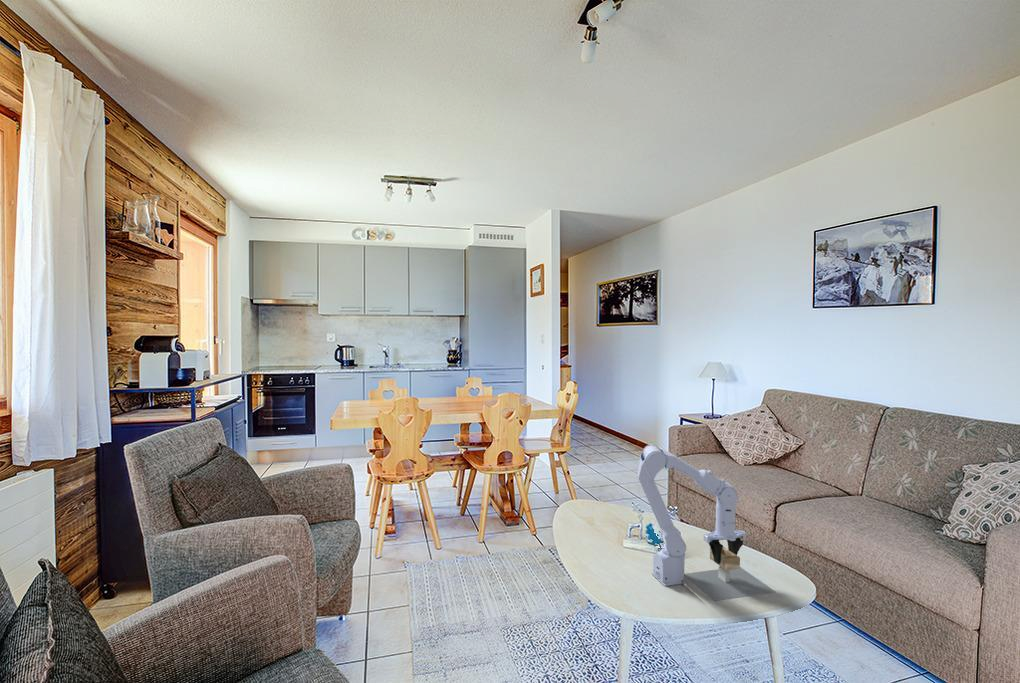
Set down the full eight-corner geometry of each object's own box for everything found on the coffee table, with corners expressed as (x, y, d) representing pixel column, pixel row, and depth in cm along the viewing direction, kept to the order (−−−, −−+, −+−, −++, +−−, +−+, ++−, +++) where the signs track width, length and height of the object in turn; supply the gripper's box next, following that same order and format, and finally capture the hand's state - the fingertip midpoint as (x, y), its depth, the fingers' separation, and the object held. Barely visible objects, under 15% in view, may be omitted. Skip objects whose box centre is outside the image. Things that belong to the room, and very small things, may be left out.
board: (714, 604, 142) (715, 589, 142) (683, 576, 157) (683, 563, 157) (776, 595, 147) (776, 580, 147) (739, 569, 162) (739, 556, 162)
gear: (656, 549, 173) (643, 523, 179) (646, 556, 176) (633, 530, 182) (675, 545, 179) (661, 520, 186) (664, 552, 183) (651, 527, 189)
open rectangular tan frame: (709, 558, 157) (710, 547, 157) (722, 556, 158) (722, 546, 158) (726, 570, 149) (726, 559, 149) (739, 568, 150) (740, 557, 150)
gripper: (714, 527, 148) (713, 569, 148) (753, 523, 151) (752, 564, 152) (699, 518, 155) (699, 559, 155) (737, 514, 158) (736, 554, 158)
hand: (724, 561), depth 154 cm, fingers closed on open rectangular tan frame, 5 cm apart
